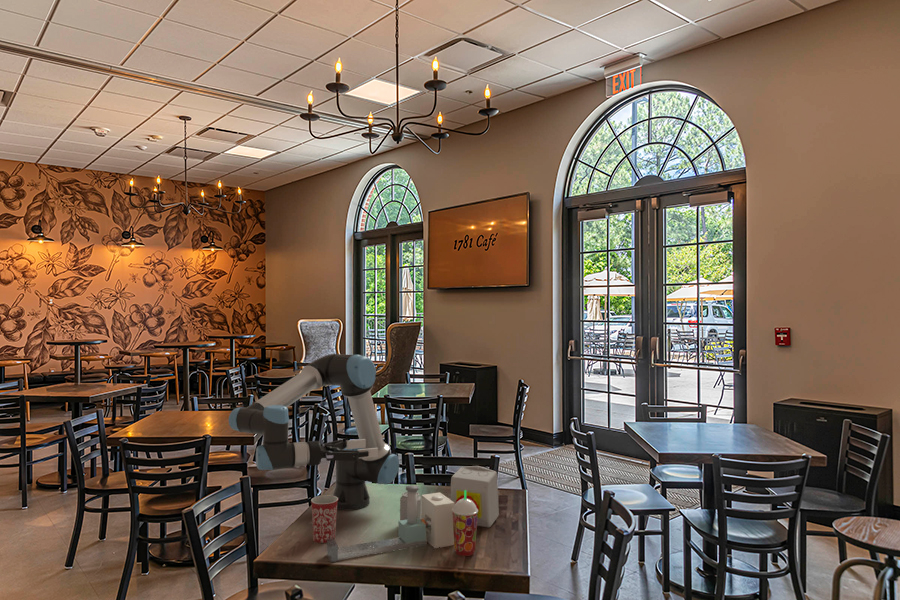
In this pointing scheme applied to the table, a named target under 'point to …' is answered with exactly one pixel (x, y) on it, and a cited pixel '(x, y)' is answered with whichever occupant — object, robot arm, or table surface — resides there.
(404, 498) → the can
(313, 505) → the mug
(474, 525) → the smoothie
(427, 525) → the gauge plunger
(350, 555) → the rail
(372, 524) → the table surface
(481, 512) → the electrical switch box
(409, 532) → the carriage
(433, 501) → the white notched housing
